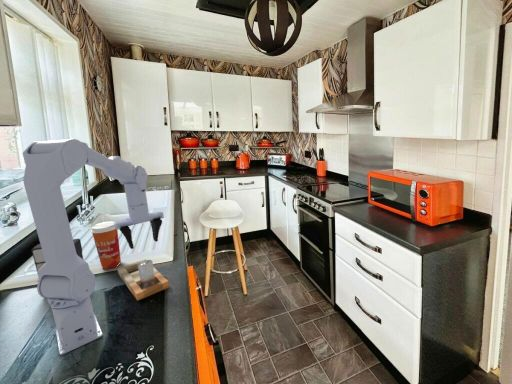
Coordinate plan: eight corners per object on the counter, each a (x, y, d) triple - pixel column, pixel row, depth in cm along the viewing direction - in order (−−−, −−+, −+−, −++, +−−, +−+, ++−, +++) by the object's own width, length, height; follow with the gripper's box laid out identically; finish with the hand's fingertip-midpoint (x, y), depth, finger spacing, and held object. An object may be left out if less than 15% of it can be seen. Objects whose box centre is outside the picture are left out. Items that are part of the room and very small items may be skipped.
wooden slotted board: (169, 287, 79) (168, 281, 78) (137, 300, 73) (136, 294, 73) (146, 264, 94) (145, 259, 93) (118, 274, 88) (117, 268, 88)
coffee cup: (94, 272, 90) (85, 230, 87) (103, 261, 98) (95, 222, 95) (120, 268, 91) (112, 227, 88) (127, 258, 99) (121, 219, 96)
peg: (158, 287, 79) (154, 262, 77) (144, 293, 76) (140, 268, 74) (153, 282, 82) (149, 258, 80) (140, 288, 79) (135, 263, 77)
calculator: (42, 298, 77) (29, 250, 73) (49, 290, 81) (37, 244, 77) (85, 290, 79) (74, 243, 76) (89, 283, 84) (80, 238, 80)
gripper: (155, 197, 92) (161, 234, 95) (109, 206, 83) (116, 247, 86) (163, 200, 86) (169, 240, 89) (114, 211, 77) (122, 254, 80)
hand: (144, 244), depth 87 cm, fingers open, 7 cm apart
